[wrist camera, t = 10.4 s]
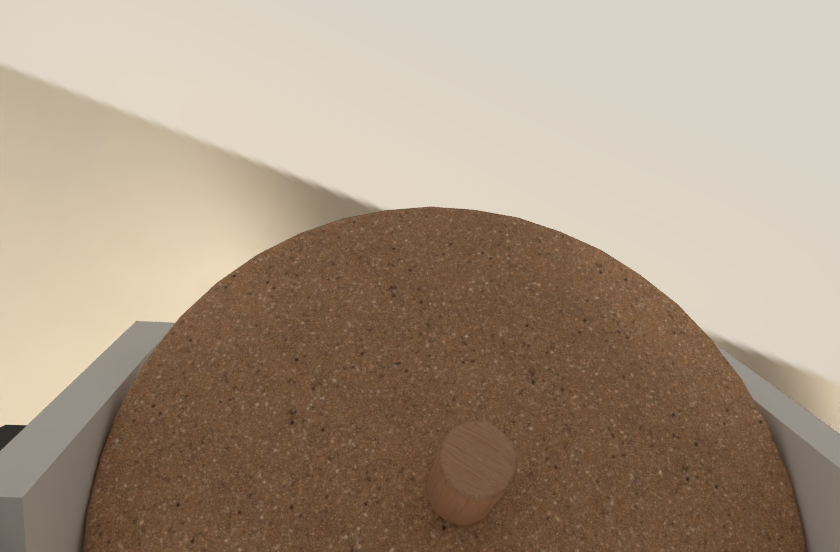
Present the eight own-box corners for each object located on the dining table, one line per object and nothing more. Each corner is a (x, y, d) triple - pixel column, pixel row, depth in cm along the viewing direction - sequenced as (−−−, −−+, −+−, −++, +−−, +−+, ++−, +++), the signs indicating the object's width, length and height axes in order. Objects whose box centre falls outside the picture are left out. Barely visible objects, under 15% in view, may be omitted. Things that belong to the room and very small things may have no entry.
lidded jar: (355, 303, 21) (365, 51, 13) (695, 508, 19) (960, 357, 11) (78, 656, 16) (-191, 599, 8) (504, 994, 14) (740, 1402, 6)
